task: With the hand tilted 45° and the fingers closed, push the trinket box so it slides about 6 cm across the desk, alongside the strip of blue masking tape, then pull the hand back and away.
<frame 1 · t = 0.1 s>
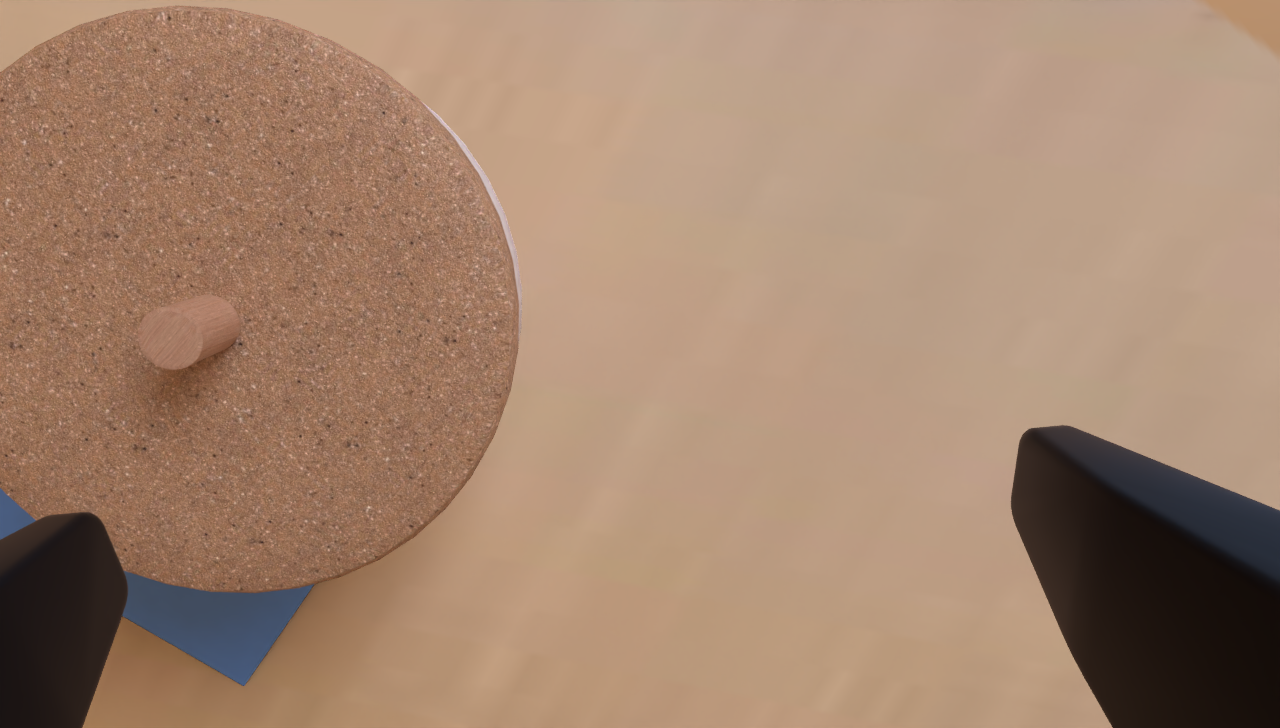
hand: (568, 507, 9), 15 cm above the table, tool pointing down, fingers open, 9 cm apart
tape strip: (66, 490, 24), on the table
trinket box: (344, 272, 24), on the table
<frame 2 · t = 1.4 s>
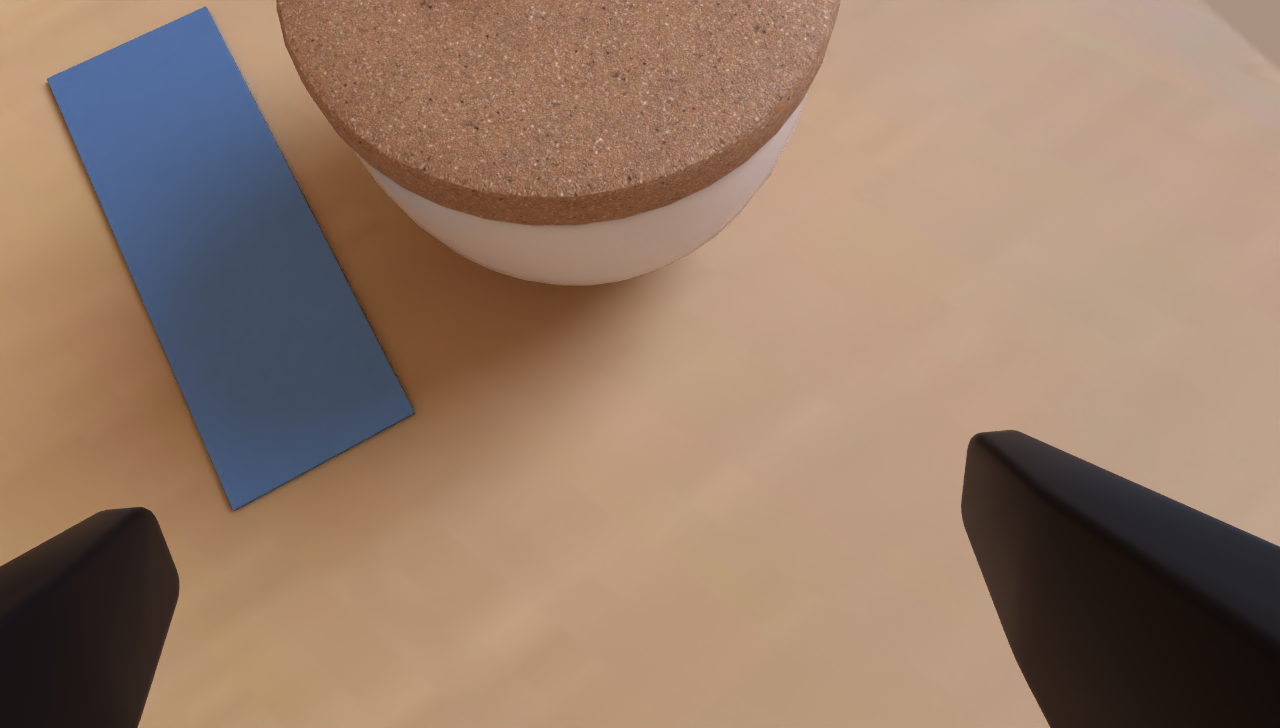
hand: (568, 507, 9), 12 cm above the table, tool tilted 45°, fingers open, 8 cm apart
tape strip: (219, 235, 23), on the table
trinket box: (588, 164, 24), on the table
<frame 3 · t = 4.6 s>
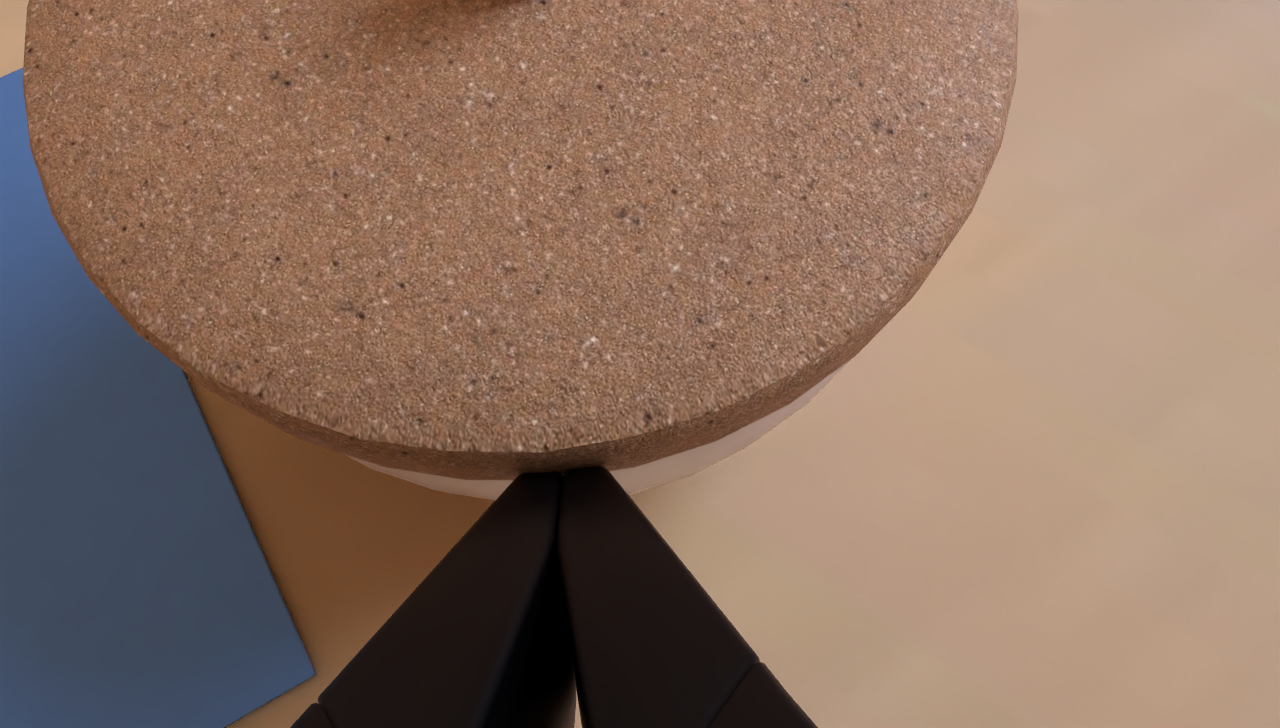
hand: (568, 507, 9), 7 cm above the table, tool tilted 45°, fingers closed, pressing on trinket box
tape strip: (42, 393, 16), on the table
trinket box: (576, 275, 17), on the table, touching gripper
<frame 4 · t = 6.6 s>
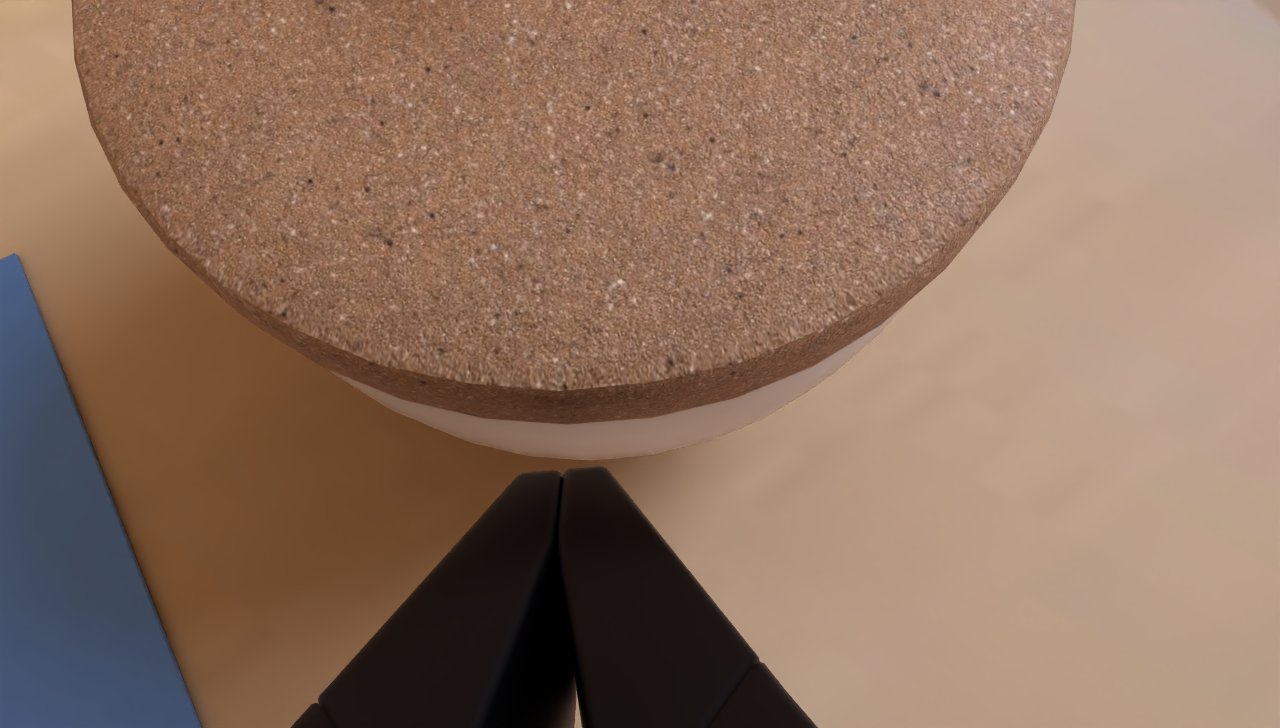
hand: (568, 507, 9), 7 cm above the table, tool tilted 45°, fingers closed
tape strip: (7, 658, 15), on the table
trinket box: (607, 243, 17), on the table
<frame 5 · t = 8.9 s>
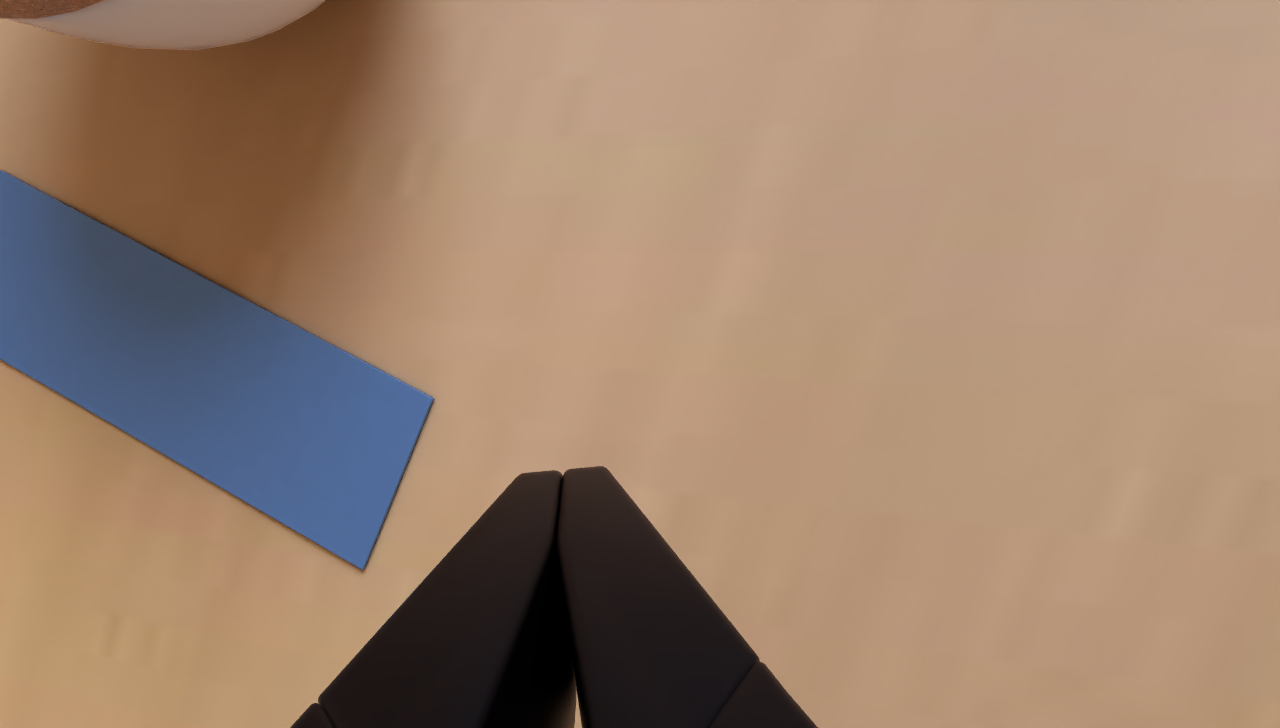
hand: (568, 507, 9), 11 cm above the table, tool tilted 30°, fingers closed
tape strip: (176, 361, 23), on the table
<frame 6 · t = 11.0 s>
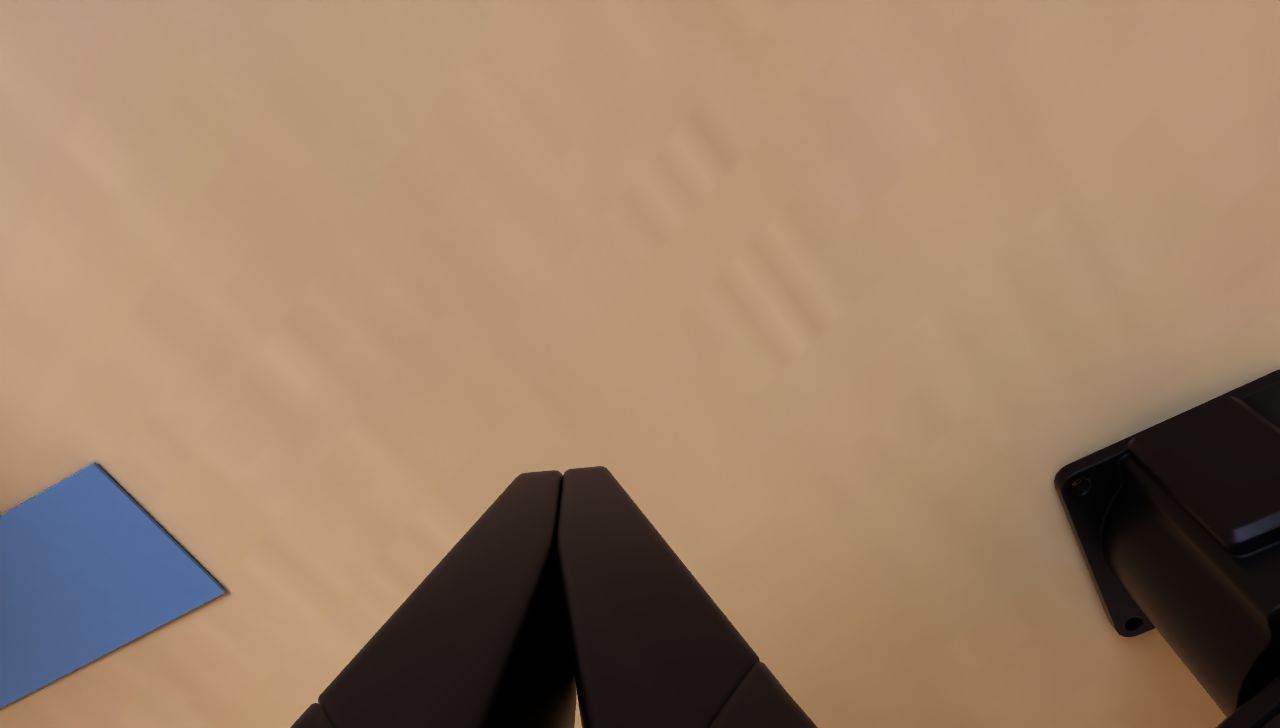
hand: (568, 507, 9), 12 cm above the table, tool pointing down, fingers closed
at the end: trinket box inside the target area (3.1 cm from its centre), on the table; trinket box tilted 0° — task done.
